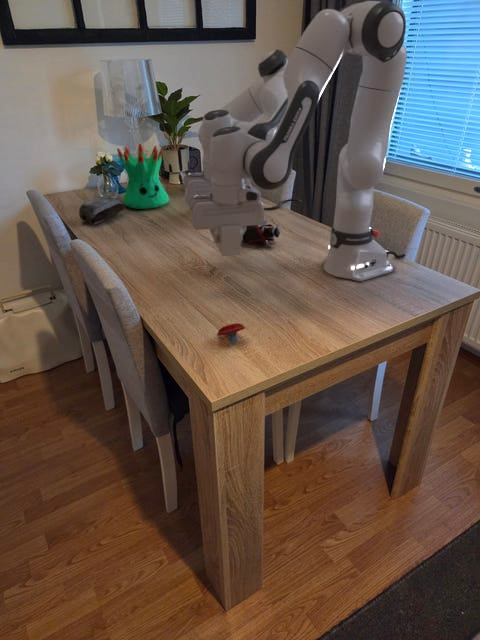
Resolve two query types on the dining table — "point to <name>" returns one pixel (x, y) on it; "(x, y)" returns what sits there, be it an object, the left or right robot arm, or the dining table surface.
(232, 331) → the red mushroom
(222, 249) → the bar
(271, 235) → the toy
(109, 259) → the dining table surface
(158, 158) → the toy
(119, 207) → the rock
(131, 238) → the dining table surface
